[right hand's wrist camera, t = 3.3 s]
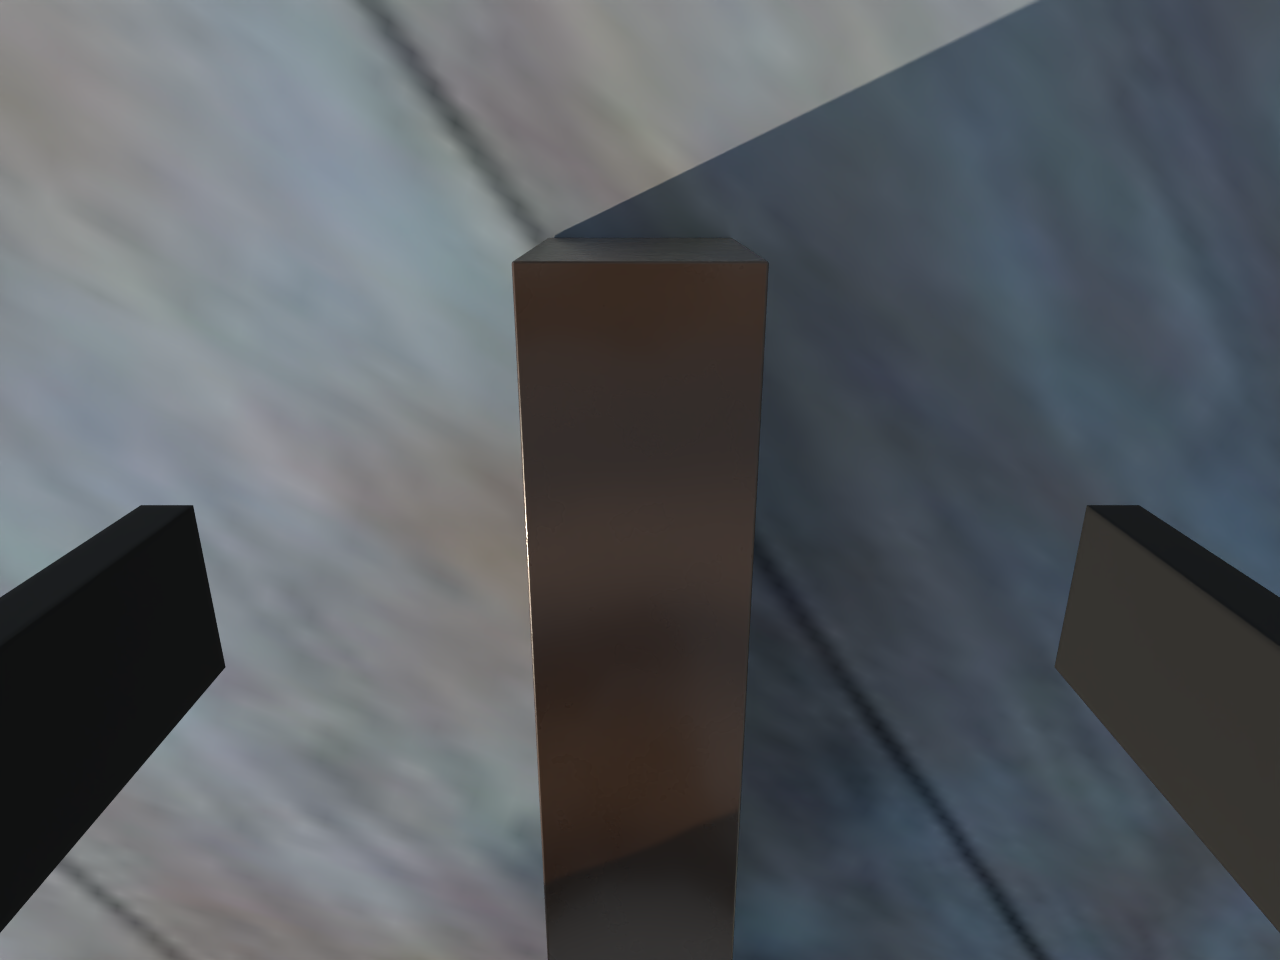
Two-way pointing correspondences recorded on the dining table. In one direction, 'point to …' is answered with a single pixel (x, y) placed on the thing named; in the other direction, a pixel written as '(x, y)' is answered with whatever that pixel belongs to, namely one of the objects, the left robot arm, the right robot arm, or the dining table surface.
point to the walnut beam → (640, 580)
